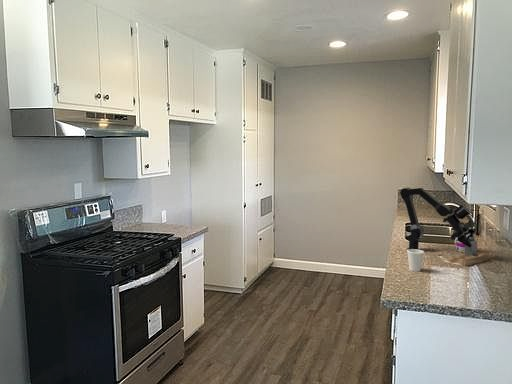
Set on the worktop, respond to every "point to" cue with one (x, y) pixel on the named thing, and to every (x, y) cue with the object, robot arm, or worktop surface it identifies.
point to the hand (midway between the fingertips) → (473, 246)
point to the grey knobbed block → (473, 248)
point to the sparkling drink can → (460, 246)
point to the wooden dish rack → (466, 259)
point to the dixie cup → (415, 259)
